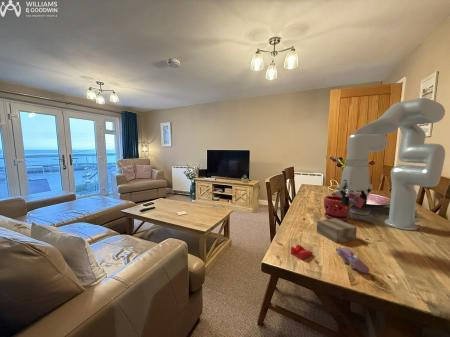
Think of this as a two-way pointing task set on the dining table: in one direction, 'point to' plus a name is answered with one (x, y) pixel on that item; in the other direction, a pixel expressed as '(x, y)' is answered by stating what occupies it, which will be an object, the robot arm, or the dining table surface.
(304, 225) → the dining table surface
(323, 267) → the dining table surface
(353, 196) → the geometric puzzle
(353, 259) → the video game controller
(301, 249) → the bracket
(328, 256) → the dining table surface
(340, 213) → the plant pot
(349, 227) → the walnut block
